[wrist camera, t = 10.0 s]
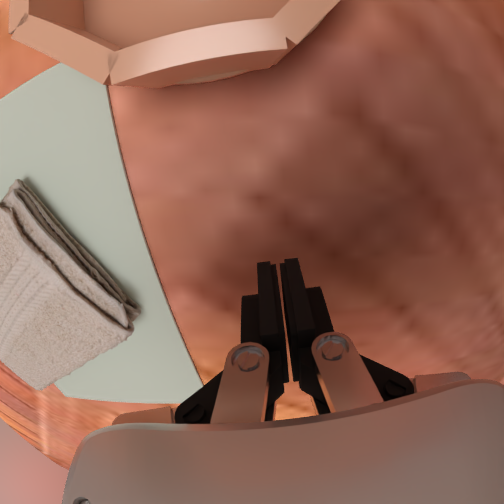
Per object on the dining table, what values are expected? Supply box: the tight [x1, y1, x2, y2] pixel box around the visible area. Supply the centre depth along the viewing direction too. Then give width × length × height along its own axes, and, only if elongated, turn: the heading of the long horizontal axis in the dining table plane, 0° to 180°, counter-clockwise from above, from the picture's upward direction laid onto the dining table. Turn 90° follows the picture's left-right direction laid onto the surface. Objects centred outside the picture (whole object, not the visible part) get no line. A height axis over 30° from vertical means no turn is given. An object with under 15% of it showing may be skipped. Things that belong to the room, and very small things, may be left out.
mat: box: [0, 63, 204, 403], centre depth 16 cm, size 26×16×1 cm, turn 8°
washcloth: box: [0, 179, 141, 390], centre depth 15 cm, size 12×18×3 cm, turn 127°
